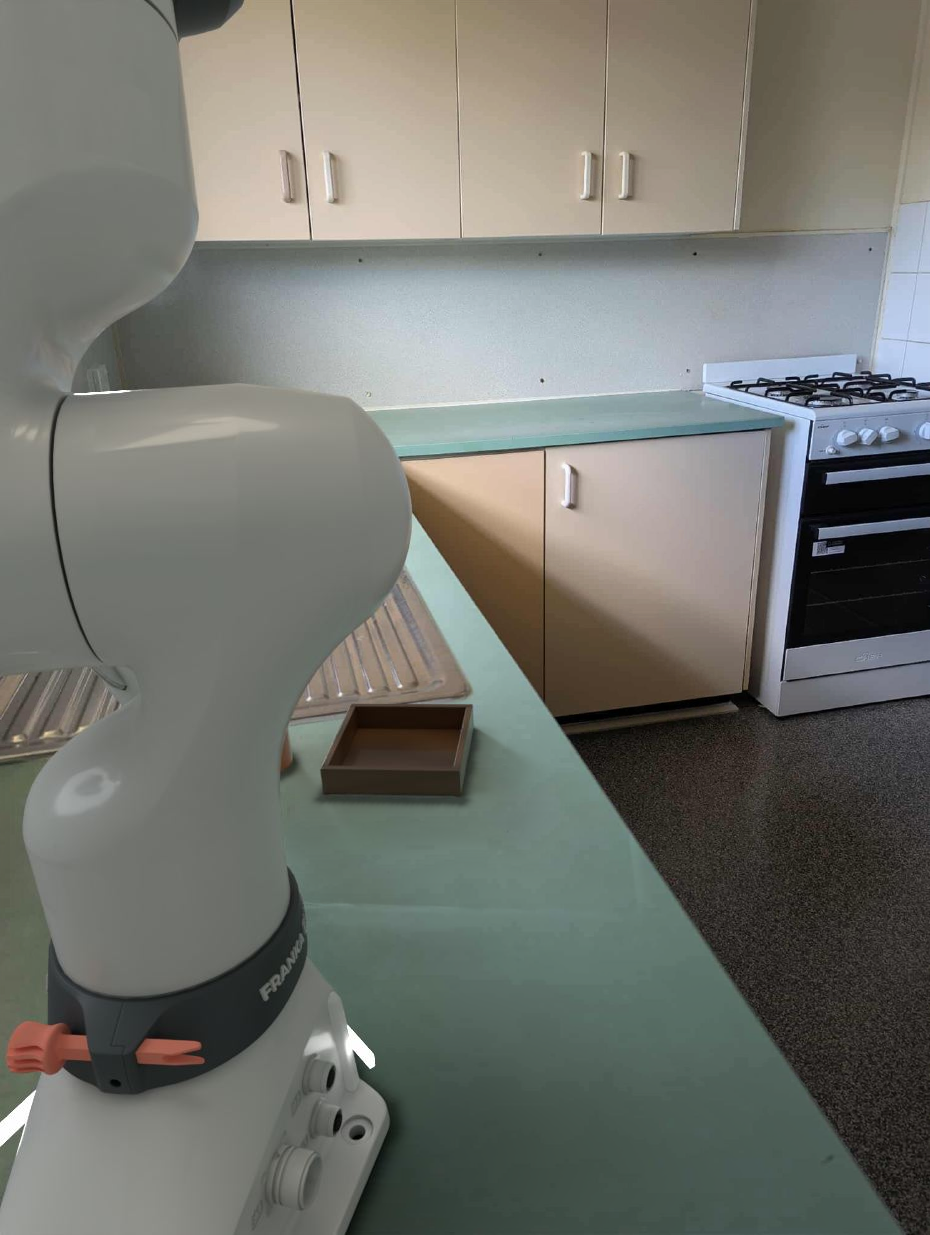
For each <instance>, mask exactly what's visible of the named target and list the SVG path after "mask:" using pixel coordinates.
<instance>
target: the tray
mask: <svg viewBox="0 0 930 1235" xmlns="http://www.w3.org/2000/svg"><path fill="white" fill-rule="evenodd" d="M474 729H475V722H474V705H473V704H472V703H454V704H453V703H351V704H350V705H349V707H348V709H347V711H346V714H345V716H344V718H343V720H342V722H341V724H340V726H339V728H338V731H337V732H336V735H335V737H334V739H333V741H332V743H331V744H330V747H329V749H328V752H327V754H326V755H325V758H324V760H323V762H322V764H321V766H320V768H319V771H320V779H321V785H322V788H321V789H322V793H323V795H355V796H356V795H357V796H358V795H361V796H363V795H364V796H365V795H366V796H371V795H372V796H416V797H417V796H420V797H421V796H423V797H427V796H428V797H436V796H437V797H462V794H463V787H464V782H465V777H466V771H467V766H468V761H469V755H470V750H471V745H472V739H473V733H474Z"/></svg>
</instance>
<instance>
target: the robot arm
mask: <svg viewBox="0 0 930 1235" xmlns="http://www.w3.org/2000/svg"><path fill="white" fill-rule="evenodd" d="M244 3H245V0H0V678H2V677H3V678H4V677H10V676H11V677H12V676H19V675H29V674H38V673H47V672H55V671H56V672H57V671H65V670H72V669H73V670H74V669H82V668H90V670H91V671H92V673H93V674H94V675H96V676H97V677H98V678H99V679H101V681H102V682H103V684H104V686H105V688H106V690H107V691H108V692H109V693H110V694H111V696H113V698H114V699H115V700H116V701H117V702H118V704H120V705H121V706H120V707H118V708H116V709H114V710H113V711H112V712H110V713H109V714H106V715H104V716H103V717H101V718H99V719H98V720H96V721H94V722H93V723H91V724H90V725H88V726H87V727H85V728H84V729H83V730H81V731H80V732H78V733H76V735H75V736H73V737H72V738H71V739H69V740H68V741H67V742H65V744H64V745H63V746H61V748H59V749H58V750H57V751H56V752H55V753H54V754H53V755H52V756H51V757H50V758H49V759H48V760H47V762H46V763H45V764H44V765H43V767H42V768H41V769H40V770H39V771H38V773H37V775H36V777H35V779H34V781H33V782H32V785H31V787H30V788H29V792H28V795H27V797H26V800H25V805H24V810H23V815H22V816H23V818H22V838H23V842H24V846H25V850H26V853H27V856H28V860H29V864H30V867H31V870H32V874H33V878H34V881H35V884H36V888H37V891H38V897H39V898H40V902H41V906H42V909H43V913H44V917H45V921H46V923H47V927H48V930H49V934H50V941H49V943H48V944H49V945H48V960H47V973H46V974H45V992H47V1024H45V1023H41V1022H36V1021H34V1020H33V1021H31V1020H26V1021H23V1022H21V1023H20V1024H18V1025H17V1027H16V1028H15V1029H14V1031H13V1033H12V1034H11V1035H10V1038H9V1040H8V1044H7V1049H8V1050H7V1051H6V1054H5V1060H6V1061H7V1062H6V1066H7V1069H9V1072H10V1073H12V1074H30V1073H35V1072H40V1073H41V1074H40V1076H39V1079H38V1082H37V1085H36V1088H35V1090H34V1091H33V1092H32V1093H31V1094H30V1095H29V1096H28V1097H26V1098H25V1100H23V1101H22V1103H20V1104H19V1105H18V1106H17V1107H16V1108H15V1109H14V1110H13V1111H12V1112H11V1113H9V1114H8V1115H7V1117H5V1118H4V1119H3V1120H2V1121H1V1122H0V1147H1V1146H2V1145H3V1144H4V1143H5V1142H6V1141H7V1140H9V1139H10V1138H11V1137H12V1136H13V1135H14V1134H15V1133H16V1132H17V1131H18V1130H20V1128H21V1127H22V1126H23V1125H24V1126H23V1130H22V1133H21V1137H20V1140H19V1144H18V1147H17V1150H16V1154H15V1156H14V1157H15V1158H14V1160H13V1164H12V1166H11V1171H10V1173H9V1177H8V1180H7V1183H6V1187H5V1190H4V1193H3V1197H2V1200H1V1204H0V1235H346V1233H347V1231H348V1228H349V1226H350V1223H351V1221H352V1219H353V1216H354V1213H355V1211H356V1209H357V1207H358V1204H359V1201H360V1199H361V1197H362V1195H363V1192H364V1189H365V1187H366V1185H367V1183H368V1180H369V1177H370V1176H371V1173H372V1170H373V1168H374V1165H375V1162H376V1160H377V1158H378V1156H379V1153H380V1151H381V1149H382V1146H383V1143H384V1141H385V1138H386V1136H387V1135H388V1134H387V1133H388V1131H389V1129H390V1125H391V1118H390V1114H389V1110H388V1106H387V1102H386V1101H385V1100H384V1098H383V1096H381V1094H380V1093H379V1092H378V1091H376V1090H375V1088H373V1087H372V1086H371V1085H369V1084H368V1083H367V1082H365V1081H364V1080H362V1078H360V1076H359V1072H358V1068H357V1063H356V1058H355V1054H354V1052H355V1053H356V1054H357V1056H359V1058H360V1059H361V1060H362V1061H363V1063H365V1065H366V1066H367V1067H368V1068H369V1069H372V1068H374V1067H375V1066H376V1064H375V1062H376V1061H375V1055H374V1053H373V1052H372V1051H371V1049H369V1048H368V1046H367V1045H366V1044H365V1043H364V1042H363V1041H362V1040H361V1038H360V1037H359V1036H358V1035H357V1034H356V1033H355V1032H354V1031H353V1029H351V1027H350V1026H349V1024H348V1023H347V1018H346V1014H345V1010H344V1009H345V1008H344V1006H343V1002H342V1001H343V1000H342V998H341V997H340V996H339V995H338V993H337V991H336V990H335V989H334V987H333V986H332V985H331V984H330V983H329V981H328V980H327V979H326V978H325V977H324V976H323V974H322V973H321V972H320V970H319V969H318V968H317V966H316V964H315V963H314V962H313V961H312V959H311V957H310V956H309V955H308V948H309V947H308V945H309V944H308V935H307V914H306V910H305V909H306V908H305V903H304V900H303V897H302V894H301V893H300V889H299V885H298V881H297V879H296V876H295V875H294V873H293V871H292V869H291V868H290V867H289V866H288V864H287V857H286V856H287V855H286V849H285V840H284V829H283V818H282V816H283V815H282V801H281V772H280V765H281V755H282V749H283V744H284V739H285V735H286V731H287V728H288V727H289V725H290V723H291V719H292V717H293V714H294V712H295V710H296V707H297V705H298V703H299V702H300V700H301V698H302V696H303V694H304V692H305V691H306V688H307V687H308V685H310V683H311V681H312V679H313V678H314V677H315V675H316V674H317V672H318V671H319V669H320V668H321V667H322V666H323V664H324V663H325V662H326V661H327V659H328V658H330V657H329V656H330V655H331V654H333V653H334V651H335V650H337V648H338V647H339V646H340V645H341V644H342V643H343V642H344V641H345V640H346V639H347V638H348V637H349V636H350V635H351V634H352V633H354V632H355V631H356V630H357V629H359V627H361V626H362V625H364V623H366V622H367V621H369V619H371V618H372V617H373V616H375V614H376V613H377V612H378V611H379V609H380V608H381V607H382V606H383V605H384V603H385V602H386V600H387V599H388V598H389V597H390V594H391V593H392V592H393V590H394V588H395V586H396V585H397V583H398V580H399V578H400V577H401V574H402V571H403V569H404V566H405V564H406V562H407V557H408V553H409V549H410V544H411V539H412V538H411V537H412V531H413V530H412V529H413V526H412V525H413V507H412V506H413V504H412V497H411V492H410V487H409V484H408V479H407V475H406V473H405V470H404V467H403V464H402V461H401V459H400V456H399V455H398V453H397V451H396V450H395V447H394V445H393V444H392V442H391V441H390V439H389V437H388V436H387V435H386V433H385V431H384V430H383V429H382V428H381V426H380V425H379V424H378V423H377V422H376V420H375V419H374V418H373V417H372V416H371V415H370V414H369V413H368V412H367V411H366V410H365V409H364V408H363V407H362V406H360V405H359V404H358V403H357V402H355V401H354V400H353V399H352V398H351V397H348V396H346V395H345V396H343V395H339V394H331V393H325V392H318V391H311V390H305V389H298V388H290V387H280V386H272V385H262V384H254V383H245V382H244V383H243V382H235V383H234V382H233V383H221V384H207V385H206V384H204V385H203V384H202V385H190V386H175V387H160V388H159V387H158V388H147V389H131V390H117V391H101V392H87V393H75V392H72V387H73V382H74V378H75V375H76V371H77V369H78V367H79V365H80V362H81V360H82V359H83V357H84V355H85V354H86V352H87V350H89V348H90V347H91V345H92V344H93V343H94V341H95V340H96V339H97V338H98V337H99V336H100V335H101V334H102V333H103V332H104V331H105V330H107V328H109V327H110V326H111V325H112V324H114V323H115V322H117V321H119V320H120V319H122V318H124V317H125V316H128V315H129V314H131V313H133V312H135V311H136V310H138V309H141V307H143V306H145V305H146V304H148V303H149V302H151V301H152V300H154V299H155V298H156V297H158V296H159V295H160V294H161V293H163V292H164V291H165V290H166V289H167V288H168V287H169V285H170V284H171V283H172V282H173V281H174V280H175V279H176V277H177V276H178V275H179V274H180V272H181V271H182V270H183V267H184V266H185V264H186V263H187V261H188V260H189V257H190V256H191V254H192V250H193V248H194V246H195V242H196V239H197V235H198V229H199V221H200V212H199V205H198V197H197V196H198V195H197V189H196V188H197V187H196V180H195V179H196V178H195V171H194V170H195V169H194V162H193V154H192V144H191V136H190V127H189V120H188V111H187V103H186V94H185V86H184V78H183V77H184V76H183V70H182V61H181V52H180V41H181V40H182V39H184V38H190V37H193V36H197V35H201V34H202V35H203V34H205V33H209V32H213V31H216V30H219V29H221V28H222V27H223V26H224V25H225V24H226V23H227V22H228V21H230V19H231V18H233V16H234V15H235V14H236V13H237V12H238V11H239V10H240V9H241V8H242V7H243V5H244ZM356 1136H362V1138H359V1139H353V1138H354V1137H356Z"/></svg>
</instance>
